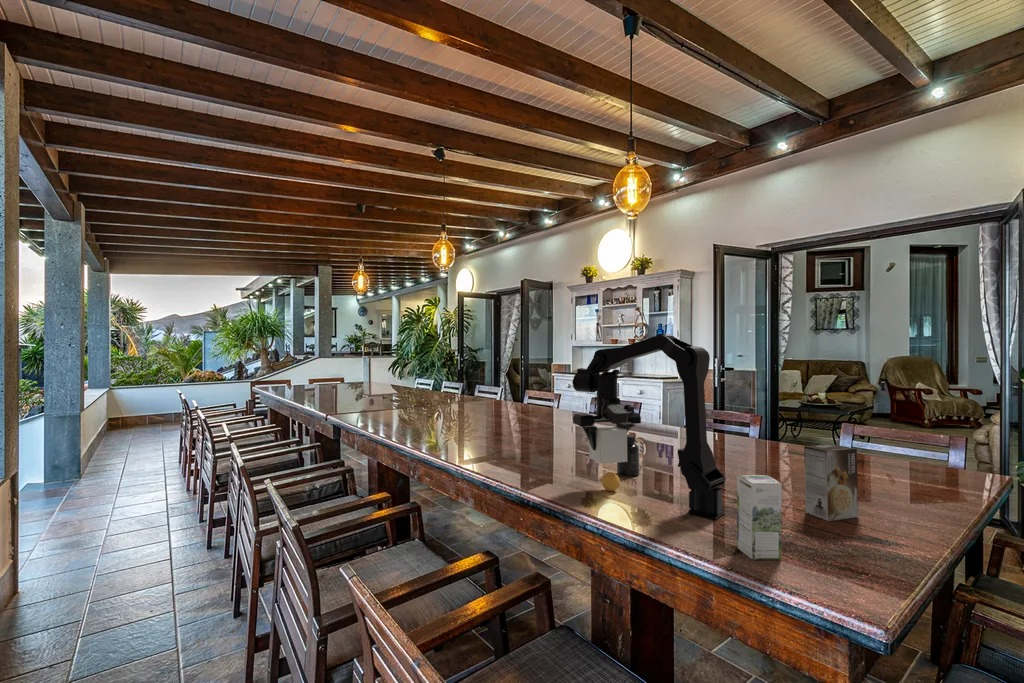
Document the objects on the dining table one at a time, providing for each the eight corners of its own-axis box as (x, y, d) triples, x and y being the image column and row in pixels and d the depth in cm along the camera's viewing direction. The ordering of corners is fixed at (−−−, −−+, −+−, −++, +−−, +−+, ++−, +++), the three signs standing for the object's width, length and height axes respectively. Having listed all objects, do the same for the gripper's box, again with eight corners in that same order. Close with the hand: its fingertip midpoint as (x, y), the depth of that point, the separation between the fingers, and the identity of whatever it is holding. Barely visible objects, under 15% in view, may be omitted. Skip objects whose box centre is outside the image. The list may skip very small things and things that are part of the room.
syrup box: (764, 547, 95) (764, 473, 95) (782, 560, 89) (782, 481, 89) (736, 548, 95) (735, 473, 95) (752, 561, 89) (751, 482, 89)
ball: (617, 474, 136) (623, 490, 133) (600, 479, 137) (606, 496, 134) (615, 467, 133) (621, 484, 129) (598, 472, 133) (604, 489, 130)
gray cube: (613, 456, 140) (613, 425, 140) (627, 461, 132) (626, 429, 133) (589, 458, 137) (589, 427, 138) (602, 463, 130) (601, 430, 130)
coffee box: (834, 509, 118) (833, 443, 118) (859, 518, 112) (858, 448, 112) (804, 512, 115) (803, 445, 116) (828, 521, 109) (827, 450, 109)
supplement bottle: (637, 471, 154) (637, 434, 154) (640, 477, 147) (640, 438, 147) (615, 471, 155) (615, 433, 155) (618, 476, 148) (618, 437, 148)
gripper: (589, 397, 125) (589, 457, 125) (652, 395, 131) (652, 453, 130) (571, 393, 136) (572, 449, 136) (630, 392, 141) (630, 445, 141)
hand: (607, 449), depth 135 cm, fingers closed on gray cube, 8 cm apart
